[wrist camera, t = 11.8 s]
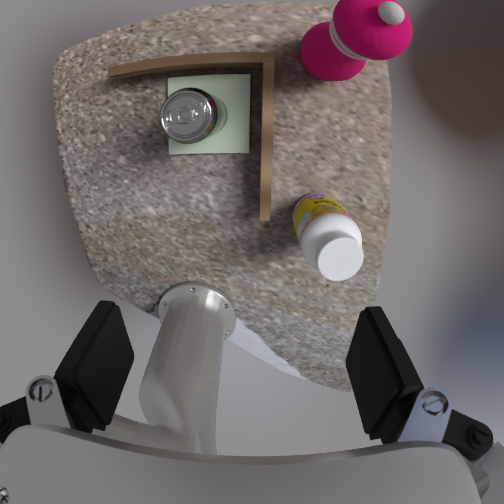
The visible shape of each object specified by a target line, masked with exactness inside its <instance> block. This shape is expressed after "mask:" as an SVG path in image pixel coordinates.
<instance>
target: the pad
mask: <svg viewBox="0 0 504 504" xmlns="http://www.w3.org/2000/svg"><path fill="white" fill-rule="evenodd" d="M188 87H193V88H198V89H201V90H203V91H205V92H207V93H209V94H211V95H213V96H215V97H217V98H219V99H220V100H222V101H223V102H224V104H225V105H226V107H227V111H228V119H227V122H226V124H225V126H224V127H223V129H222V130H221V131H219V132H218V133H216V134H214V135H212V136H210V137H208V138H206V139H204V140H202V141H199V142H197V143H193V144H182V143H178V142H176V141H174V140H172V139H171V138H169V137H168V138H169V155H175V154H201V153H249V128H250V74H219V75H198V76H185V77H174V78H168V97H169V96H170V95H171V94H172V93H174V92H175V91H177V90H179V89H182V88H188Z"/></svg>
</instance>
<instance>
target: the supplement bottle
mask: <svg viewBox="0 0 504 504" xmlns="http://www.w3.org/2000/svg"><path fill="white" fill-rule="evenodd" d="M292 219H293V225H294V228H295V231H296V234H297V237H298V240H299V243H300V247H301V250H302V253H303V256H304V258H305V260H306V261H307V262H308V264H309V265H310V266H312V267H313V268H314V269H316V270H318V271H320V273H321V274H322V275H323V276H324V277H325V278H327V279H329V280H333V281H342V280H346V279H348V278H350V277H352V276H353V275H354V274H356V273H357V271H358V270H359V269H360V267H361V265H362V262H363V250H362V248H361V245H362V238H361V233H360V230H359V228H358V227H357V225H356V224H355V223H354V221H353V220H352V219H351V218H350V217H349V216H348V214H347V213H346V212H345V211H344V210H343V208H342V207H341V206H340V205H339V204H338V203H337V201H336V200H335V199H333V198H332V197H331V196H329V195H327V194H324V193H312V194H309V195H306V196H305V197H303V198H302V199H301V200H300V201H299V202H298V203H297V204H296V206H295V208H294V211H293V216H292Z"/></svg>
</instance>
